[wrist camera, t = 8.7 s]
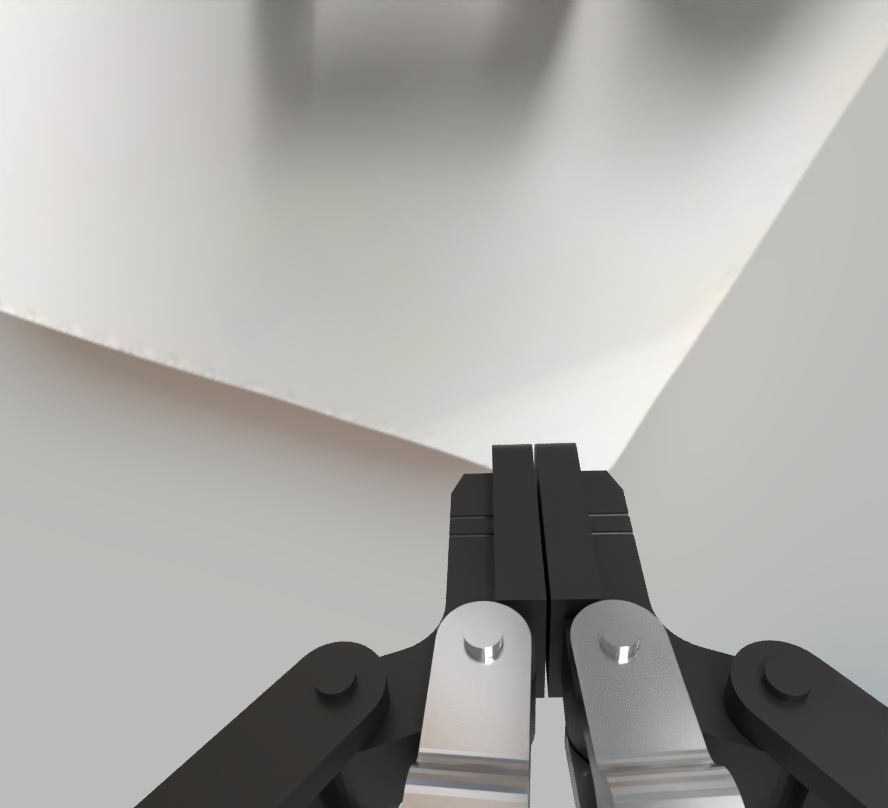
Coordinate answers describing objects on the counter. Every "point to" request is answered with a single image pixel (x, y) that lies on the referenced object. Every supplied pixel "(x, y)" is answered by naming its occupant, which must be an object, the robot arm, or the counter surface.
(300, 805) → the robot arm
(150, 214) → the counter surface
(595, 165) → the counter surface
